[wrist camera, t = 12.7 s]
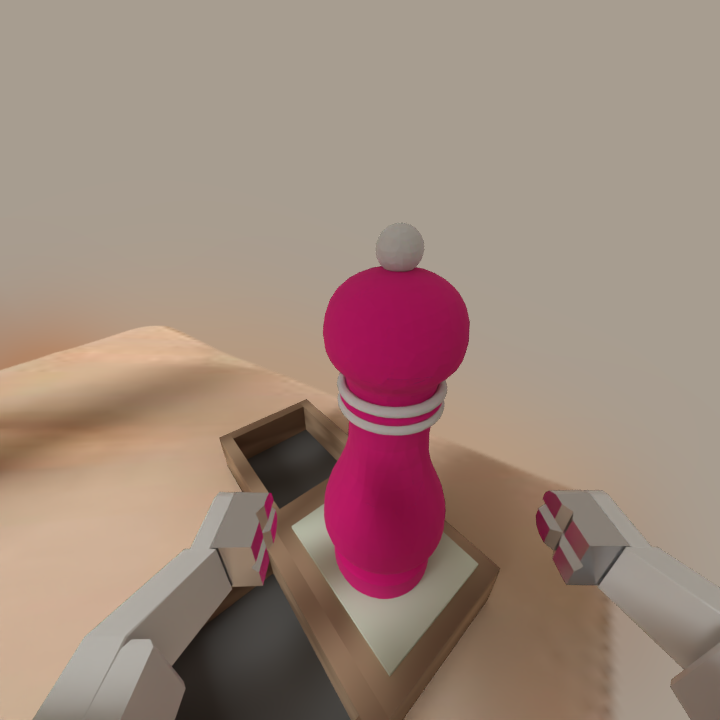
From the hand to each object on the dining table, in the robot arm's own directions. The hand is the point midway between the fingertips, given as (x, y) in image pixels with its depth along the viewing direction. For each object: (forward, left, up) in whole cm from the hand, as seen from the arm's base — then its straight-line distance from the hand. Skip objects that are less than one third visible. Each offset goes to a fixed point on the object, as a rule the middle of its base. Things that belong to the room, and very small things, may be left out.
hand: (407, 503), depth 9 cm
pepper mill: (-5, +4, -13) cm, 14 cm away
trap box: (-11, -1, -17) cm, 20 cm away
